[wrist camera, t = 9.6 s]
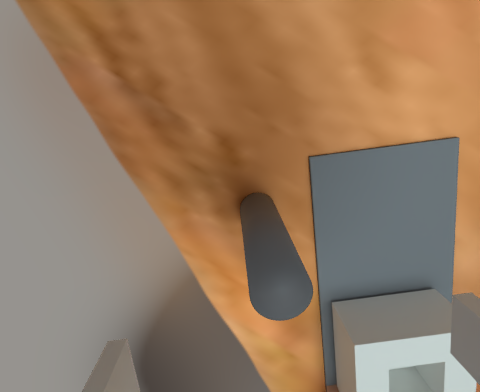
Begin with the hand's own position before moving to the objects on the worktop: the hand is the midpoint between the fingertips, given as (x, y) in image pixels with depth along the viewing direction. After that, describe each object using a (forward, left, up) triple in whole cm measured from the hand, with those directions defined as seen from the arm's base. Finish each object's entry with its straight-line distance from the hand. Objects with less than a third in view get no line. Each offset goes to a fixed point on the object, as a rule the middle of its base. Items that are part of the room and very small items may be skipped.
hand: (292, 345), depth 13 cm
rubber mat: (+9, +12, -18) cm, 23 cm away
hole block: (+15, +11, -18) cm, 25 cm away
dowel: (0, 0, -18) cm, 18 cm away
